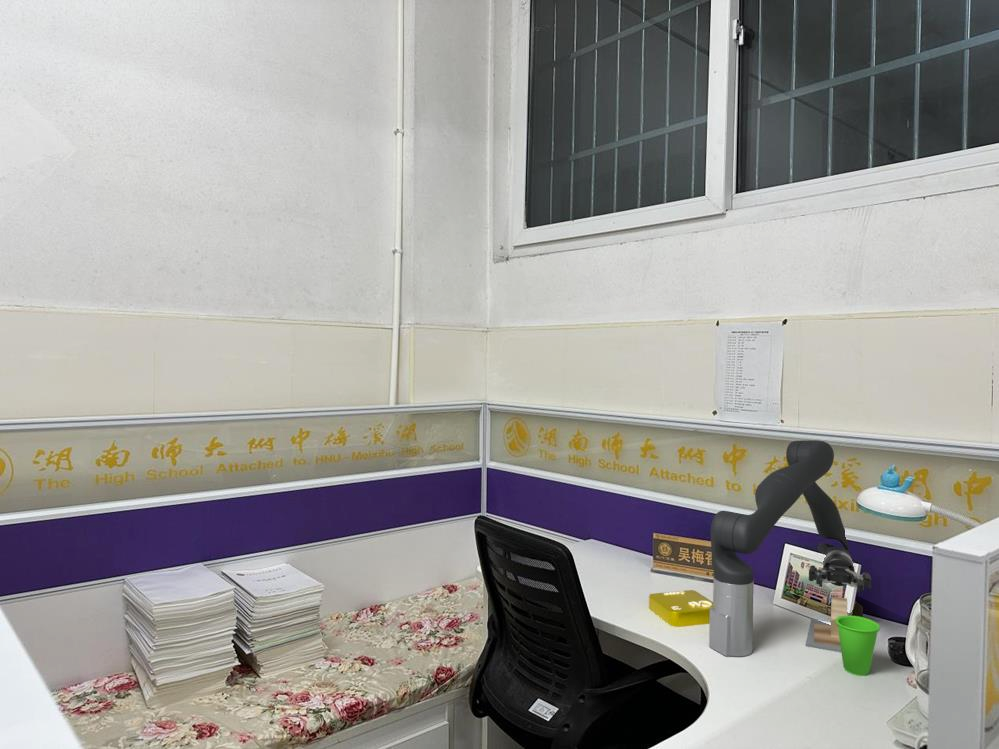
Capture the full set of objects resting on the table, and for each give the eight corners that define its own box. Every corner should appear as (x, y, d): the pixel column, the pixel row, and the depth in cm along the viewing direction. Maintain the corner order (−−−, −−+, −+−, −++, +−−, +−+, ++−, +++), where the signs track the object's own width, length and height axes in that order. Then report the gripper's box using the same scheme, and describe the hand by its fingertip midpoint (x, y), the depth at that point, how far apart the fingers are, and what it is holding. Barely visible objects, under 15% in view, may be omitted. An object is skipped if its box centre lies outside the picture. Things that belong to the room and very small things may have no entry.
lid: (864, 650, 169) (865, 610, 169) (814, 642, 174) (815, 603, 173) (861, 633, 179) (862, 595, 179) (814, 626, 184) (815, 589, 183)
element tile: (693, 603, 202) (694, 587, 202) (723, 623, 188) (723, 606, 188) (646, 608, 199) (646, 591, 198) (672, 629, 184) (672, 611, 184)
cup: (884, 681, 155) (886, 632, 154) (840, 677, 156) (841, 628, 156) (871, 663, 163) (872, 617, 163) (829, 660, 165) (830, 613, 165)
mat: (865, 656, 167) (865, 654, 167) (805, 645, 173) (805, 643, 173) (865, 630, 183) (865, 627, 183) (811, 620, 189) (811, 618, 189)
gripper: (809, 550, 191) (808, 566, 177) (869, 557, 186) (872, 574, 171) (809, 577, 192) (807, 595, 177) (868, 585, 186) (872, 605, 171)
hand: (839, 585), depth 174 cm, fingers open, 8 cm apart
